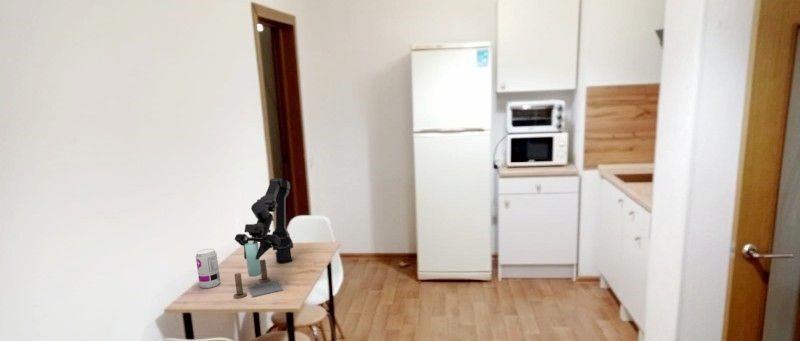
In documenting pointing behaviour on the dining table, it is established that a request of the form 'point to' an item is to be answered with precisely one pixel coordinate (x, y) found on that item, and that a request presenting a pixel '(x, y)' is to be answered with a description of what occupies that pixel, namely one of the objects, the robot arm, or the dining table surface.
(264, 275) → the walnut gate posts
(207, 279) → the supplement can
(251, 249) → the teal bottle
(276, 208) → the robot arm
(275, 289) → the charcoal rubber mat
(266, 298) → the dining table surface
